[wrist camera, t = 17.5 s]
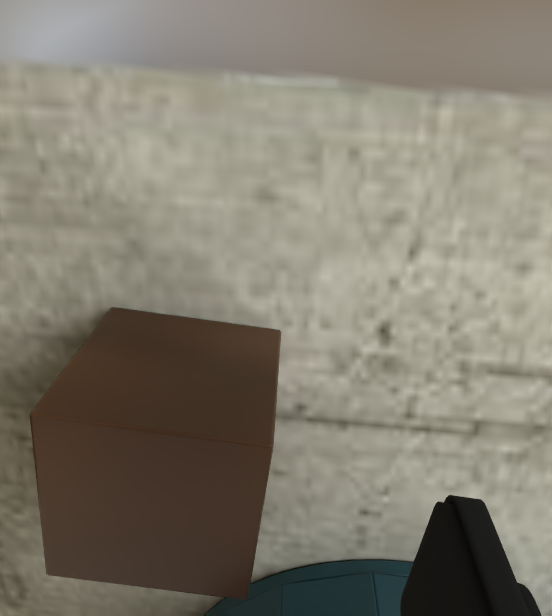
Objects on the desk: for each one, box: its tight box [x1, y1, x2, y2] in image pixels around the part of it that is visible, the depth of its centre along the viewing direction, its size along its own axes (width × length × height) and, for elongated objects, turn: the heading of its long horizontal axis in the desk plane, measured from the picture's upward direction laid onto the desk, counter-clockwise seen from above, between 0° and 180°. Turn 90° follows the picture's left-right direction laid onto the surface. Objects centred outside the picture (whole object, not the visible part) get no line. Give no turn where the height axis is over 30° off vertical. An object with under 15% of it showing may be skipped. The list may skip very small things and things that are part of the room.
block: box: [30, 308, 281, 600], centre depth 11 cm, size 4×4×4 cm
